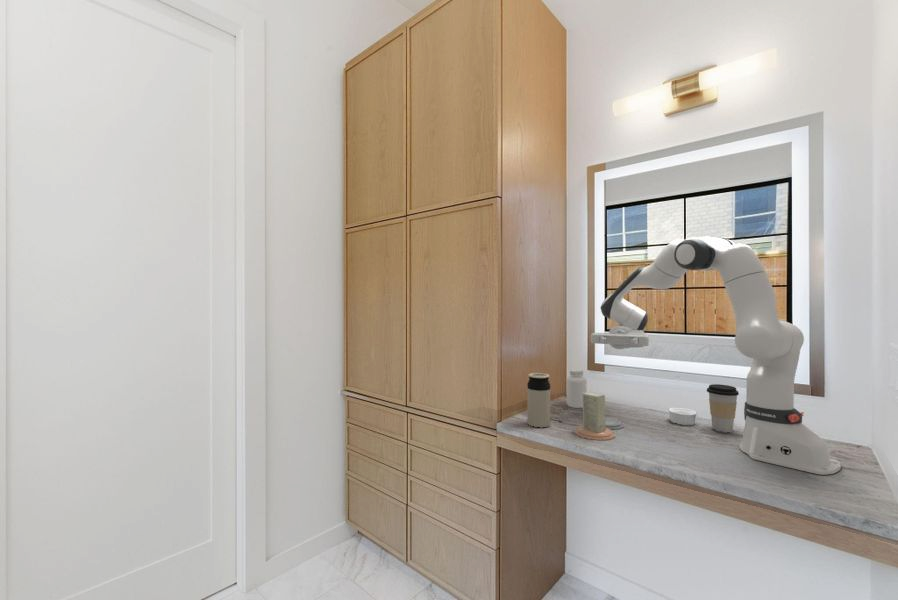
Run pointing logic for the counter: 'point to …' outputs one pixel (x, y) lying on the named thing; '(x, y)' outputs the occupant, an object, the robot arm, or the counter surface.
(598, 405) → the skincare box
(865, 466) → the counter surface
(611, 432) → the terracotta dish
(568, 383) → the pill bottle
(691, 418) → the ramekin
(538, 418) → the travel mug
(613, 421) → the slate dish
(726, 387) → the coffee cup
